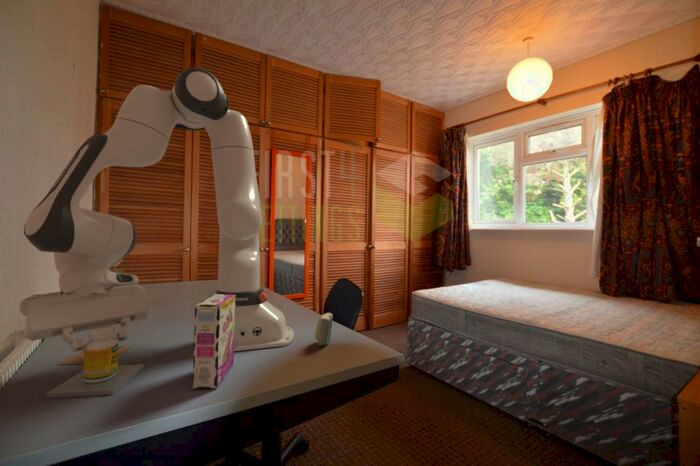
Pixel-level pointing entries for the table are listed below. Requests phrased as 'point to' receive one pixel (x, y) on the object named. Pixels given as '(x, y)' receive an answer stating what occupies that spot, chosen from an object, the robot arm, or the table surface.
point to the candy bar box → (213, 340)
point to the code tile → (80, 356)
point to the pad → (95, 384)
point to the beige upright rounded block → (324, 329)
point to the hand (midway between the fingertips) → (102, 344)
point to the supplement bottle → (100, 355)
